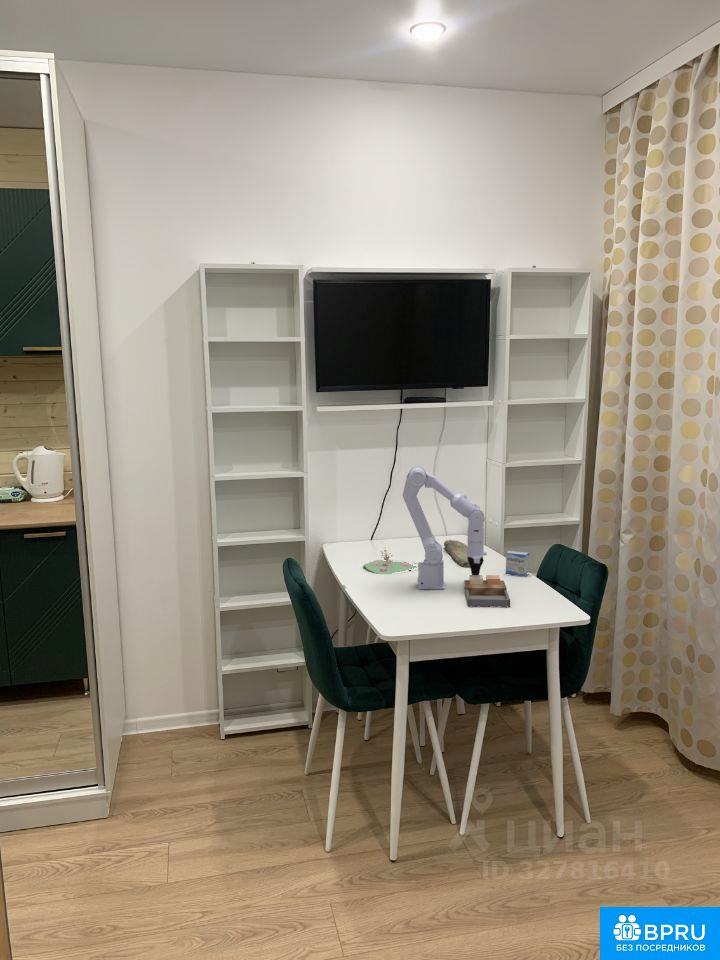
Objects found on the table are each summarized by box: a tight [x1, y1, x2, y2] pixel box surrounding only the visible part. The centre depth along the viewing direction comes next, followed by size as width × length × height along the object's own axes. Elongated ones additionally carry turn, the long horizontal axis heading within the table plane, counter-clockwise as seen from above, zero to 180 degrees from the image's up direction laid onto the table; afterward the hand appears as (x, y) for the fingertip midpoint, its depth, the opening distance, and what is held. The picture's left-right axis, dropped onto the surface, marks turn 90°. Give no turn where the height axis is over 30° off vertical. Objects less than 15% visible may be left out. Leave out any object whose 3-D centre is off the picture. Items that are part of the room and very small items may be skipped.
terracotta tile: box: [485, 574, 501, 584], centre depth 265 cm, size 4×4×2 cm
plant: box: [363, 548, 418, 575], centre depth 297 cm, size 25×21×9 cm
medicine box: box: [505, 550, 530, 577], centre depth 284 cm, size 8×4×9 cm, turn 62°
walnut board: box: [463, 579, 508, 596], centre depth 264 cm, size 14×9×3 cm, turn 85°
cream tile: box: [468, 574, 484, 584], centre depth 265 cm, size 4×4×2 cm
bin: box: [465, 589, 511, 608], centre depth 254 cm, size 14×11×2 cm
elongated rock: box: [443, 539, 471, 569], centre depth 311 cm, size 35×5×10 cm
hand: (475, 577), depth 270 cm, fingers closed
